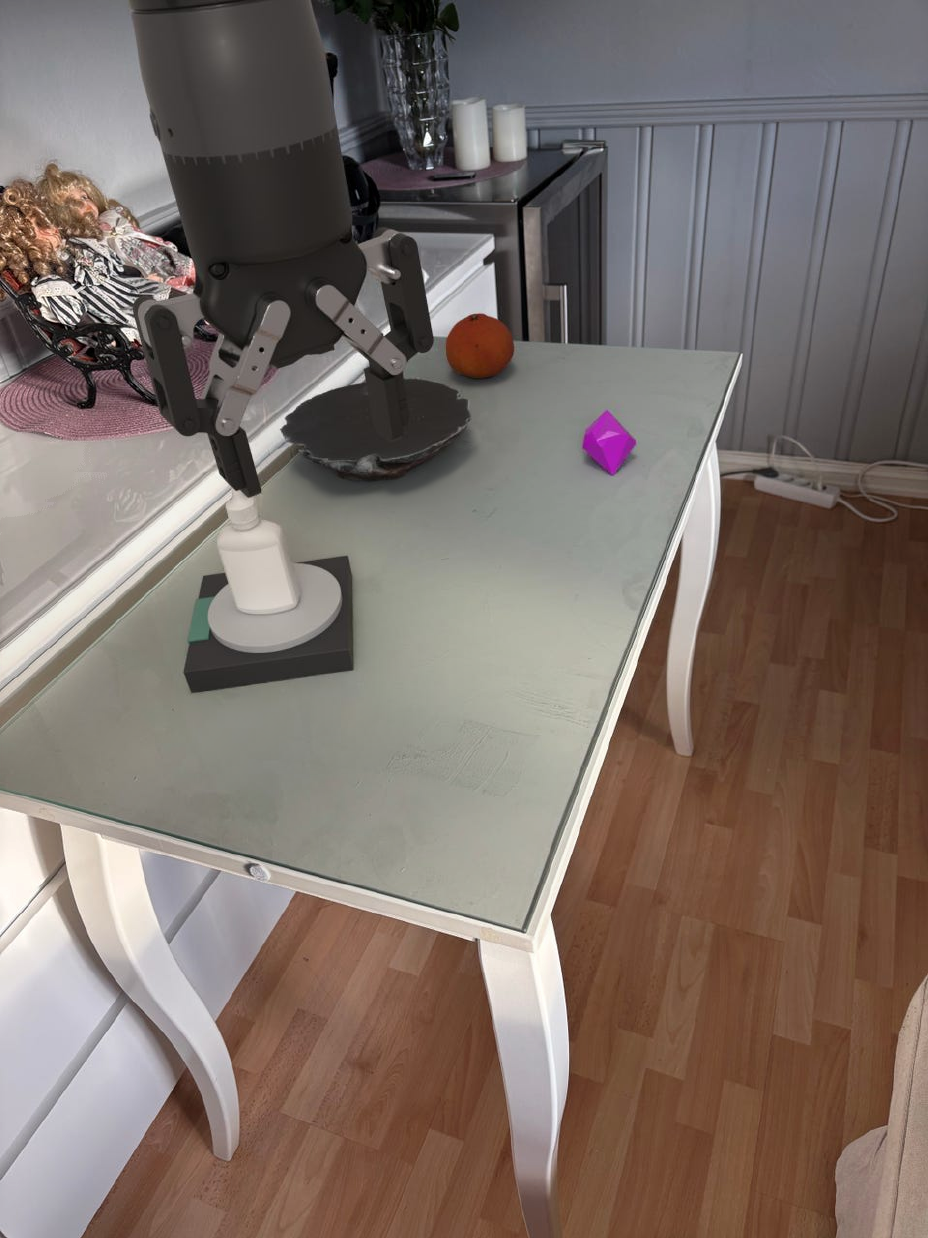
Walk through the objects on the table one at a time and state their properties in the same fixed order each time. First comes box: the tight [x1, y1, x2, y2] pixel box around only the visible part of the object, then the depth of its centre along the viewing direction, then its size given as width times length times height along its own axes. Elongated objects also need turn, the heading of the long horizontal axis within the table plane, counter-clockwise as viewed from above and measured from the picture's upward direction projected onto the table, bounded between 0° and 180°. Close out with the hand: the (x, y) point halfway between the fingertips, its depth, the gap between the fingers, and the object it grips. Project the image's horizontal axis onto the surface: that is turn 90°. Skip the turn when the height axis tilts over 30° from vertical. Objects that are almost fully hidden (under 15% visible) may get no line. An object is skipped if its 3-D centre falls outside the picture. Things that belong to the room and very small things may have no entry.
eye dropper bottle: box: [216, 487, 300, 615], centre depth 78 cm, size 4×6×12 cm
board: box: [279, 377, 473, 482], centre depth 106 cm, size 22×22×5 cm
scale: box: [182, 555, 354, 694], centre depth 82 cm, size 14×14×3 cm
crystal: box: [581, 409, 637, 476], centre depth 100 cm, size 5×5×5 cm
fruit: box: [445, 312, 515, 379], centre depth 120 cm, size 9×9×8 cm
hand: (321, 461), depth 49 cm, fingers open, 8 cm apart
